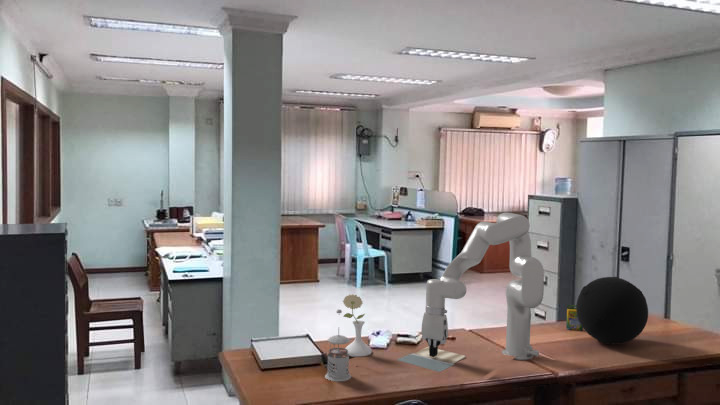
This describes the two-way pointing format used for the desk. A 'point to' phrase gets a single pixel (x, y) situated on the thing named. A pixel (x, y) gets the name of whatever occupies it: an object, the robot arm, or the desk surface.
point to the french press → (338, 359)
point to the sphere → (612, 310)
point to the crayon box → (572, 319)
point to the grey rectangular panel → (425, 362)
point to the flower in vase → (356, 328)
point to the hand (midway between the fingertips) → (433, 355)
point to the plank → (442, 355)
